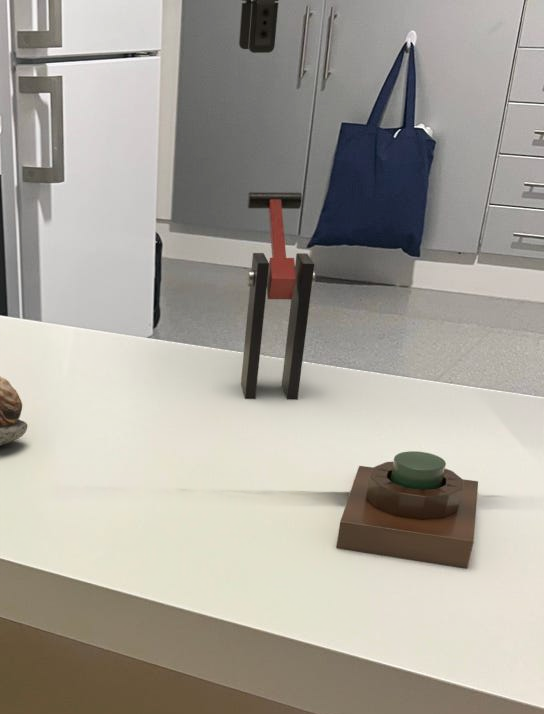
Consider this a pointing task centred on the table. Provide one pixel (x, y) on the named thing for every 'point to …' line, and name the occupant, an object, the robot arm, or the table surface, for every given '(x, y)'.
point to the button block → (410, 518)
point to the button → (418, 470)
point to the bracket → (295, 327)
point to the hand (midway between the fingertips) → (255, 50)
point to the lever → (278, 241)
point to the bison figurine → (10, 413)
